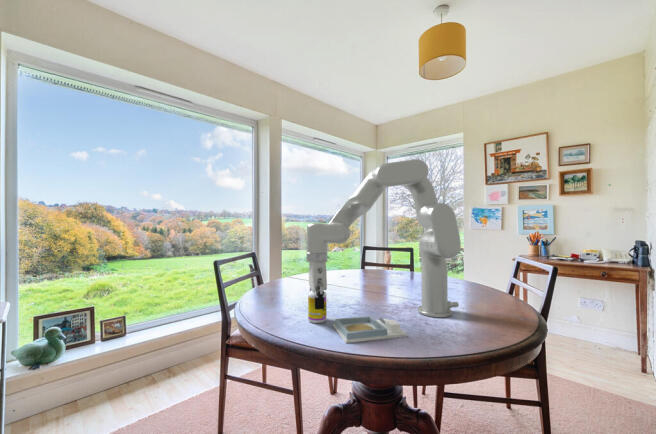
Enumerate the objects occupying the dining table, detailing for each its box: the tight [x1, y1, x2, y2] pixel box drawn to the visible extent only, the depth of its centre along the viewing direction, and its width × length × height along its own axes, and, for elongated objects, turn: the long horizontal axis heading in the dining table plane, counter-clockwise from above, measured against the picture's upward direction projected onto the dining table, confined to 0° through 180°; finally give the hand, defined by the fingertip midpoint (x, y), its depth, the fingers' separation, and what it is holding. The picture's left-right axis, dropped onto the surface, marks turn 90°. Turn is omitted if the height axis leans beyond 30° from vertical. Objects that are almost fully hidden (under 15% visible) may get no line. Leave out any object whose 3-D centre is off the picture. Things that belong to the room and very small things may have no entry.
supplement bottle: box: [307, 288, 328, 324], centre depth 105 cm, size 7×7×13 cm
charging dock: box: [332, 315, 408, 344], centre depth 95 cm, size 20×14×3 cm
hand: (316, 304), depth 105 cm, fingers open, 9 cm apart
